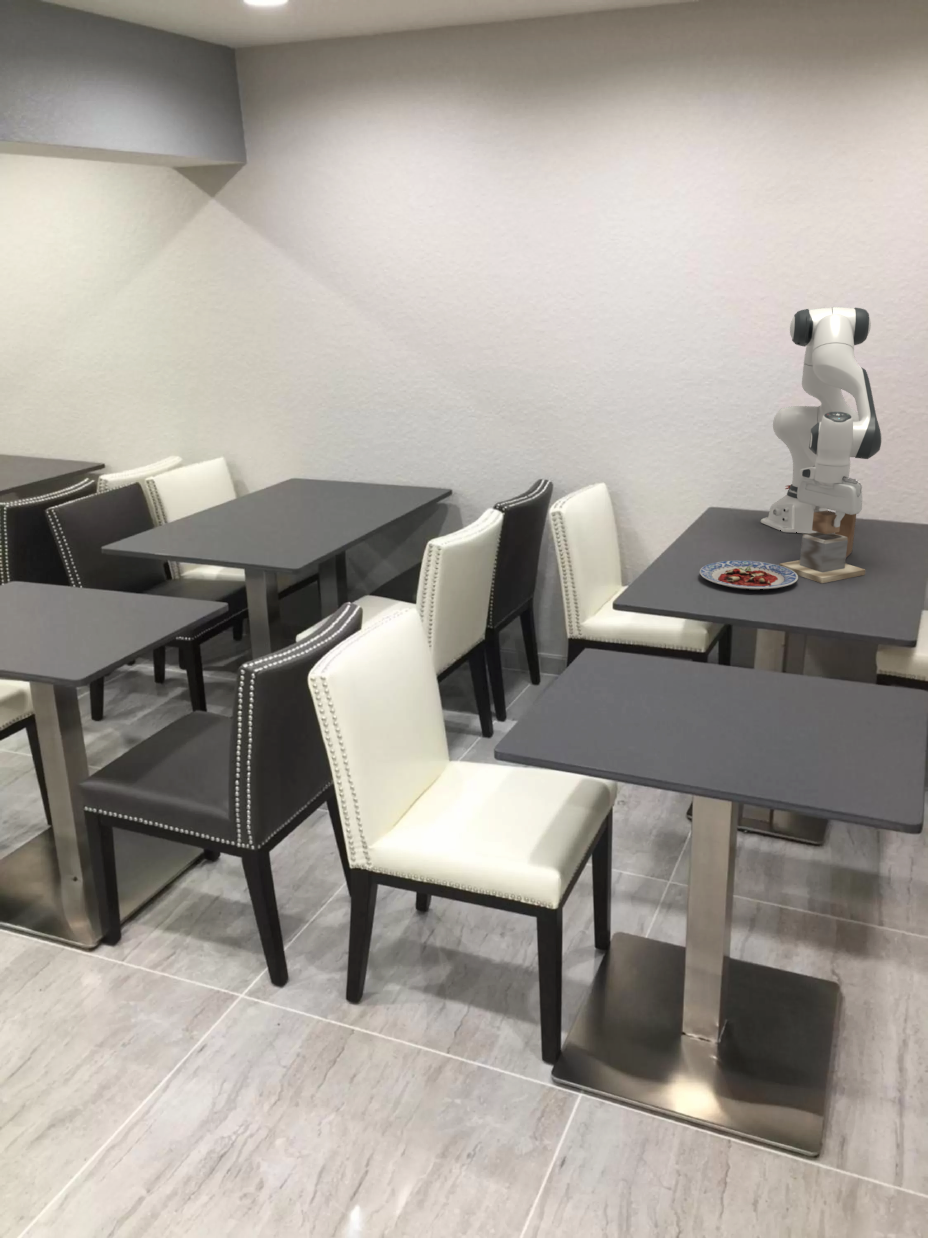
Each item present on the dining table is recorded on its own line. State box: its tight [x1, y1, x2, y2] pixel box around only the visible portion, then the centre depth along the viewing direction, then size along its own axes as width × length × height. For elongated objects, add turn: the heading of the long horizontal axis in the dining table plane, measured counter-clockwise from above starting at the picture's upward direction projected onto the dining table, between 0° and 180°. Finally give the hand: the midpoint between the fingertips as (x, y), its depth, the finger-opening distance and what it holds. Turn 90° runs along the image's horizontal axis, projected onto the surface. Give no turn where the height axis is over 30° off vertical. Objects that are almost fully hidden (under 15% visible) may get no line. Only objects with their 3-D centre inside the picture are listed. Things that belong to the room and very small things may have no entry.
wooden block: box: [834, 513, 857, 559], centre depth 294 cm, size 9×4×18 cm, turn 148°
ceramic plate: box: [699, 560, 799, 591], centre depth 274 cm, size 26×26×3 cm
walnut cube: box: [812, 510, 840, 534], centre depth 276 cm, size 5×5×5 cm
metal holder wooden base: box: [778, 532, 866, 584], centre depth 279 cm, size 16×16×10 cm
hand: (826, 524), depth 276 cm, fingers closed on walnut cube, 5 cm apart
